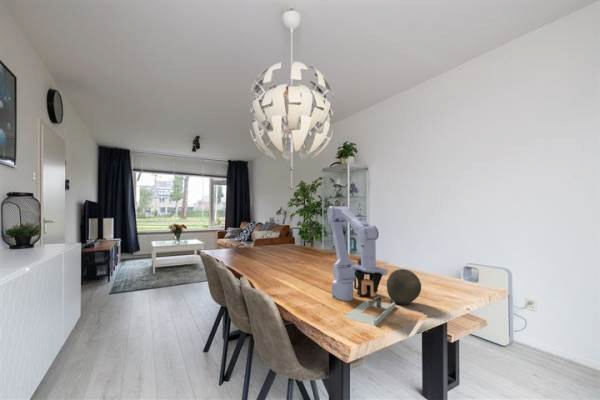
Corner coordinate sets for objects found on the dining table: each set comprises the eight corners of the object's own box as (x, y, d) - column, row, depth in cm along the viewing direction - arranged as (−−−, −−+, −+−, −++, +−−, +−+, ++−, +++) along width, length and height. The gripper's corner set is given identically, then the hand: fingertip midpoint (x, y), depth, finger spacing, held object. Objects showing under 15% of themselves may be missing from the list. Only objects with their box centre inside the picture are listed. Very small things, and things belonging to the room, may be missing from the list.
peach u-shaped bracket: (361, 294, 108) (361, 280, 108) (364, 292, 109) (363, 279, 110) (373, 296, 104) (373, 282, 105) (375, 294, 106) (375, 281, 107)
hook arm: (368, 317, 105) (367, 301, 105) (377, 308, 114) (377, 293, 114) (371, 318, 104) (371, 302, 104) (381, 309, 113) (381, 294, 113)
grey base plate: (343, 320, 103) (343, 312, 103) (365, 303, 120) (365, 296, 121) (376, 329, 95) (376, 320, 95) (395, 309, 113) (395, 302, 113)
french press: (370, 290, 139) (370, 245, 140) (381, 295, 130) (380, 248, 131) (350, 292, 136) (349, 246, 136) (359, 298, 127) (359, 249, 127)
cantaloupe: (390, 309, 114) (389, 273, 114) (384, 297, 127) (384, 266, 128) (425, 310, 112) (424, 274, 112) (415, 299, 126) (415, 266, 126)
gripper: (347, 255, 109) (347, 289, 108) (382, 260, 100) (383, 297, 100) (354, 253, 114) (355, 285, 114) (389, 257, 105) (389, 292, 105)
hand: (368, 290), depth 107 cm, fingers closed on peach u-shaped bracket, 5 cm apart
